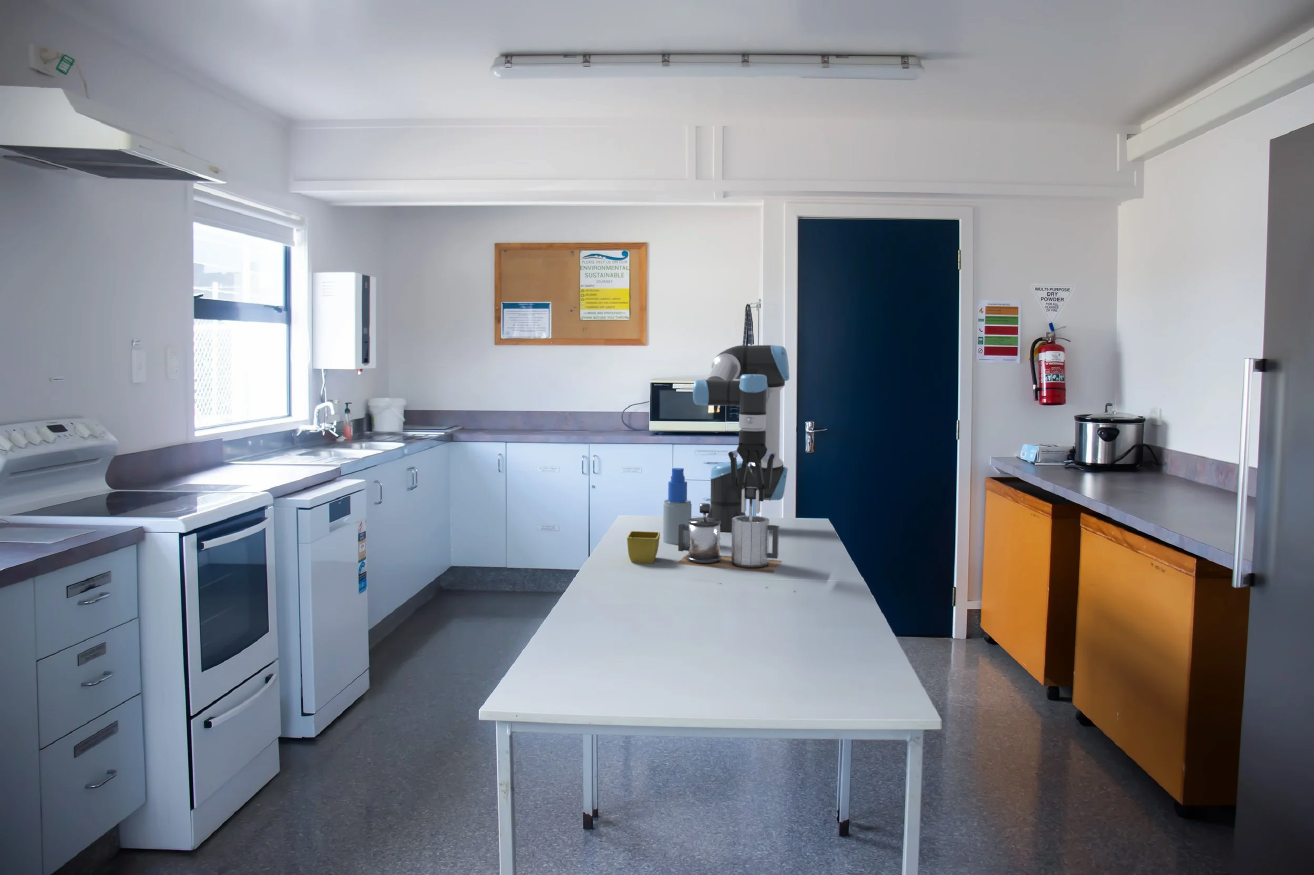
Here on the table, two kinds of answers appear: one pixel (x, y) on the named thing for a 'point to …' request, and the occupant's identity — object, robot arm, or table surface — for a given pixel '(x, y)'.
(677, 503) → the spray bottle
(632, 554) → the flower pot
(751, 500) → the plunger
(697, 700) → the table surface
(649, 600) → the table surface
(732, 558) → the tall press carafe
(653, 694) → the table surface
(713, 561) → the short press
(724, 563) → the serving board
